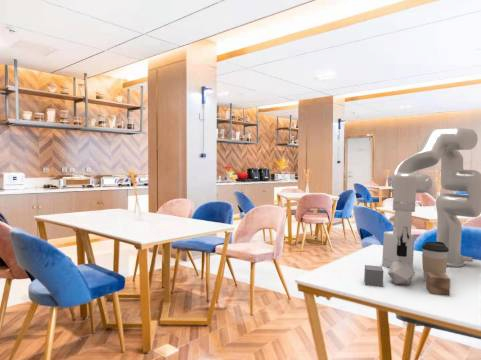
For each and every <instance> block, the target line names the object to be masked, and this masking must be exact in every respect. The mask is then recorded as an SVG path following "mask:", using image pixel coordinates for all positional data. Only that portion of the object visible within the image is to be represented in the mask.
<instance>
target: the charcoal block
mask: <svg viewBox="0 0 481 360" xmlns="http://www.w3.org/2000/svg"><path fill="white" fill-rule="evenodd" d="M363 274H364V276H363V277H364V279H363V280H364V281H363V282H364V285H365V286H369V287H378V288H383V287H384V269H383V265H382V266H381V265H370V264H369V265H368V264H365V265H364V273H363Z"/></svg>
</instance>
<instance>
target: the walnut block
mask: <svg viewBox="0 0 481 360" xmlns="http://www.w3.org/2000/svg"><path fill="white" fill-rule="evenodd" d="M450 288H451V278H450V277H449V276H448V275H447V274H446V273H445V274H443V273H432V272H427V277H426V282H425V289H426V290H427V292H428V294H429V295H437V296H447V297H450V293H451V292H450Z"/></svg>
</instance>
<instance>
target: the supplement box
mask: <svg viewBox="0 0 481 360" xmlns="http://www.w3.org/2000/svg"><path fill="white" fill-rule="evenodd" d="M397 240H398V238H396V237H395V236H394V234H393V230H392V231H391V230H390V231H383V242H382V259H381V261H382V263H381V265H382V266H384V267H387V268H389V269H390V267H391V265H392V263H393V262H407V263H408V265H409V266H410V267H411V268H412V269H413V268H414V253H415V252H414V250H415V234H413V233H411V238H410V239H408V238H407V256H406V257H402V256H397V245H398V244H397Z"/></svg>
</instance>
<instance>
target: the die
mask: <svg viewBox="0 0 481 360" xmlns="http://www.w3.org/2000/svg"><path fill="white" fill-rule="evenodd" d="M415 274H416V272H415V270H413V269H412V268H411V267H410V266H409V265H408V263H407V262H393V263H392V265H391V267H390V268H389V269H388V271H387V275H388V276H389V277H390V279H391V280H392V281H393V282H394V284H395V285H410V284H411V282H412V280H413V278H414V276H415Z"/></svg>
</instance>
